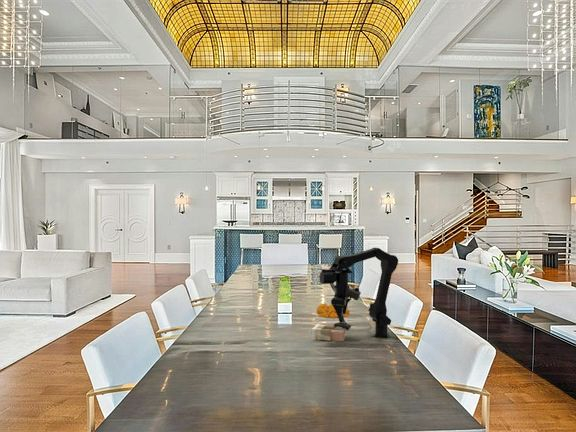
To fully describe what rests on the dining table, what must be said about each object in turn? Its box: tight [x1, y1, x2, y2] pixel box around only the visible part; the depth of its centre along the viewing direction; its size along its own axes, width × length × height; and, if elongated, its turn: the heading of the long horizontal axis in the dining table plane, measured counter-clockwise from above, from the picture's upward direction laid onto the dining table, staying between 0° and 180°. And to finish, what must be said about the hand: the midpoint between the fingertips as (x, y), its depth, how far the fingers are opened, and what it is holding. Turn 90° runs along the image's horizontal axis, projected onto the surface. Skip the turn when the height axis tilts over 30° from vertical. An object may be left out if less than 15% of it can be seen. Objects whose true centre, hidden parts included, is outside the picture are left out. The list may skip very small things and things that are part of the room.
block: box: [315, 324, 335, 342], centre depth 197 cm, size 9×7×5 cm
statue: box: [329, 283, 352, 332], centre depth 214 cm, size 10×12×25 cm
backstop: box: [311, 323, 322, 341], centre depth 198 cm, size 10×2×5 cm, turn 161°
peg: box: [329, 329, 346, 342], centre depth 195 cm, size 4×10×4 cm, turn 72°
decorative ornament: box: [316, 302, 350, 320], centre depth 248 cm, size 19×5×30 cm
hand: (342, 316), depth 194 cm, fingers open, 9 cm apart
